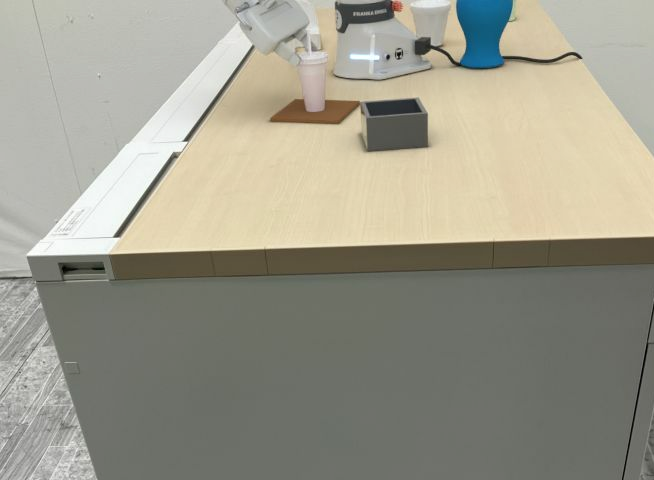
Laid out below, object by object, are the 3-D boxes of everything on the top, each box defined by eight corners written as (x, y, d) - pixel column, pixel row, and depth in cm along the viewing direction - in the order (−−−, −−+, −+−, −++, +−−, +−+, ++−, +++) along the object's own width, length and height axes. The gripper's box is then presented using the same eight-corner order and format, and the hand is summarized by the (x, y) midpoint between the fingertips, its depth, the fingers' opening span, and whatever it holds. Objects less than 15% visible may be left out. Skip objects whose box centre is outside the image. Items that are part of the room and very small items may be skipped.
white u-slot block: (316, 35, 222) (313, -9, 216) (321, 49, 208) (318, 3, 202) (281, 38, 222) (276, -6, 215) (283, 52, 208) (279, 6, 201)
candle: (496, 21, 225) (497, -14, 220) (496, 18, 229) (498, -17, 224) (514, 21, 224) (516, -14, 219) (515, 17, 228) (517, -17, 223)
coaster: (295, 101, 171) (295, 98, 170) (359, 104, 167) (359, 100, 167) (270, 121, 161) (270, 118, 160) (338, 123, 157) (338, 120, 157)
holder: (361, 133, 151) (360, 101, 148) (418, 129, 152) (418, 97, 148) (367, 151, 143) (366, 117, 140) (427, 146, 144) (427, 113, 140)
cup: (456, 42, 208) (457, -1, 202) (442, 51, 201) (442, 7, 195) (419, 40, 211) (419, -2, 205) (404, 49, 204) (403, 6, 198)
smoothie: (294, 113, 162) (287, 32, 153) (305, 104, 167) (299, 25, 158) (325, 114, 160) (319, 33, 151) (335, 105, 165) (330, 26, 156)
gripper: (240, -5, 145) (298, 57, 149) (282, -24, 160) (333, 34, 163) (221, 24, 149) (277, 84, 152) (263, 3, 164) (314, 58, 167)
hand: (306, 58), depth 158 cm, fingers open, 8 cm apart
